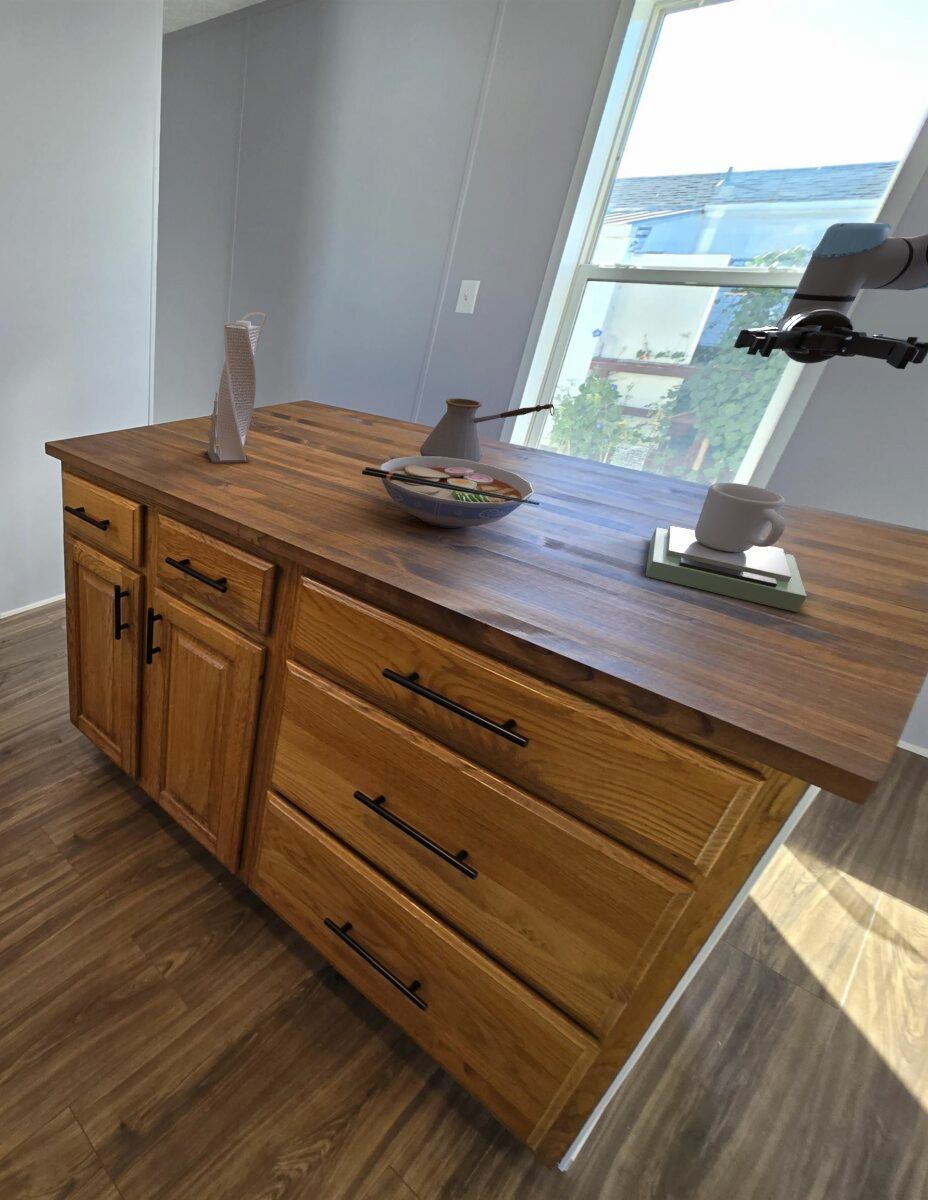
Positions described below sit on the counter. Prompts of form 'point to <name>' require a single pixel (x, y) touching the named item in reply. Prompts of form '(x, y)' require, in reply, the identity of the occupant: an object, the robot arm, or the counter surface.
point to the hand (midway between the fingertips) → (835, 352)
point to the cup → (739, 517)
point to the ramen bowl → (452, 490)
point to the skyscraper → (235, 392)
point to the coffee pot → (464, 430)
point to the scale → (726, 569)
